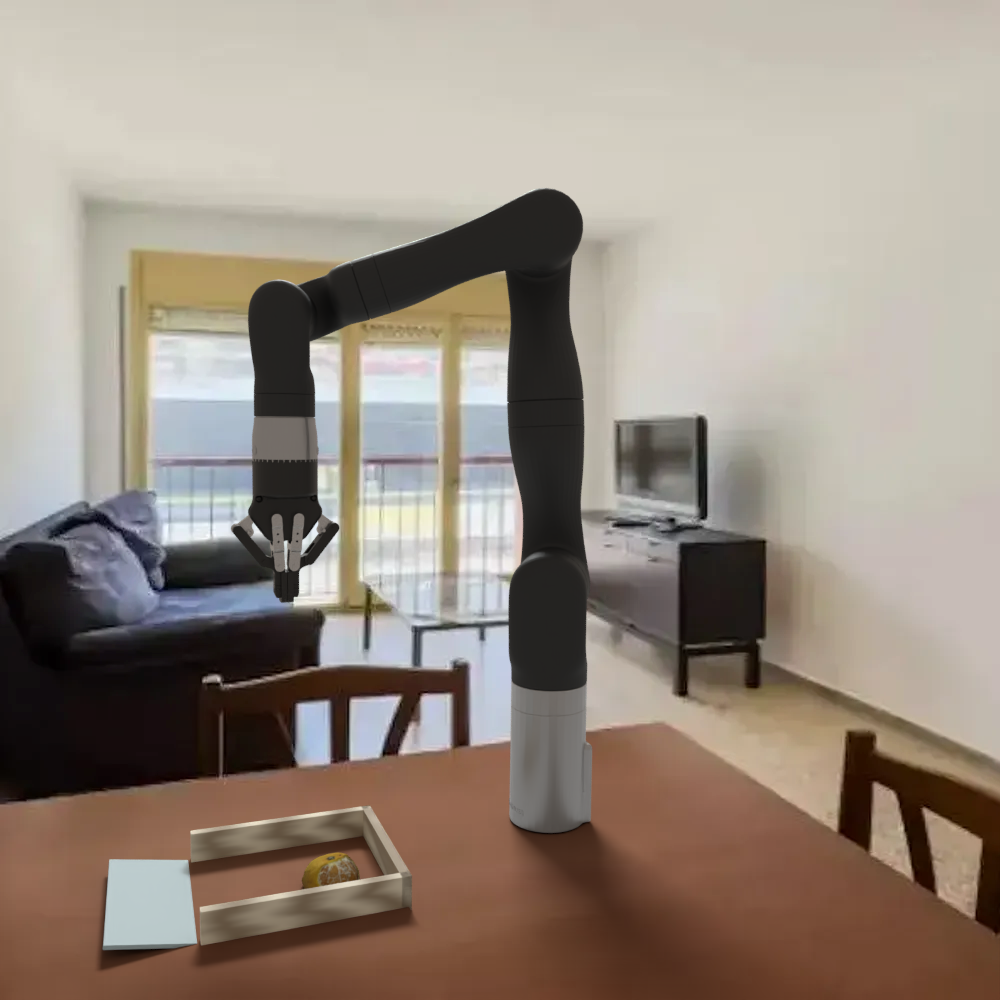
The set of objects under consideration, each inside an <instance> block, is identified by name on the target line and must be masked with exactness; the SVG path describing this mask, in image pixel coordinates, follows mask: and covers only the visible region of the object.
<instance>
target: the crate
mask: <svg viewBox="0 0 1000 1000" xmlns="http://www.w3.org/2000/svg"><path fill="white" fill-rule="evenodd" d="M359 837H363V838H364V839H365V842H366V844H367V847H369V850H370V851H371V853H372V855H373V857H374V859H375V861H376V863H377V864H378V866H379V868H380V870H381V871H382V873H383V875H379V876H374V877H367V878H360V880H355V881H349V882H343V883H337V884H332V885H326V886H320V887H314V888H308V889H304V888H302V889H298V890H292V891H286V892H285V891H284V892H280V893H274V894H268V895H263V896H262V895H261V896H257V897H251V898H246V899H240V900H234V901H228V902H222V903H216V904H210V905H204V906H199V940H200V946H206V945H210V944H215V943H222V942H226V941H232V940H233V941H234V940H237V939H242V938H243V939H244V938H248V937H253V936H254V937H255V936H258V935H259V936H260V935H265V934H270V933H275V932H280V931H286V930H293V929H297V928H301V927H308V926H314V925H319V924H325V923H329V922H334V921H340V920H346V919H350V918H351V919H352V918H355V917H360V916H361V917H362V916H368V915H372V914H373V915H374V914H377V913H382V912H388V911H393V910H394V911H395V910H399V909H404V908H409V910H410V911H412V909H413V908H412V906H413V904H412V903H413V897H412V896H413V875H412V873H411V871H410V870H409V869H408V867H407V865H406V863H405V862H404V860H403V859H402V857H401V855H400V854H399V852H398V850H397V848H396V847H395V845H394V843H393V842H392V840H391V838H390V836H389V835H388V834H387V832H386V830H385V829H384V827H383V824H382V823H381V822H380V820H379V818H378V817H377V815H376V813H375V812H374V810H373V808H372V807H371V805H370V804H369V805H362V806H361V805H360V806H355V807H354V806H353V807H347V808H339V809H334V810H327V811H320V812H319V811H318V812H314V813H312V812H311V813H306V814H298V815H291V816H285V817H283V816H282V817H279V818H271V819H263V820H258V821H257V820H256V821H250V822H242V823H237V824H236V823H235V824H230V825H227V824H226V825H221V826H215V827H208V828H198V829H194V830H190V838H189V839H190V863H195V862H196V863H197V862H204V861H209V860H210V861H211V860H217V859H221V858H222V859H223V858H229V857H236V856H242V855H248V854H255V853H256V854H257V853H261V852H268V851H274V850H282V849H289V848H292V847H293V848H294V847H301V846H307V845H314V844H320V843H326V842H327V843H328V842H333V841H340V840H345V839H352V838H353V839H354V838H359Z"/></svg>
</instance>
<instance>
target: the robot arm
mask: <svg viewBox="0 0 1000 1000" xmlns="http://www.w3.org/2000/svg"><path fill="white" fill-rule="evenodd" d="M583 233H584V220H583V215H582V212H581V211H580V207H579V206H578V205H577V203H576V202H575V201H574V200H573V199H572V198H571V197H570V196H569V195H568V194H566V193H564V192H562V191H560V190H558V189H555V188H549V187H548V188H547V187H541V188H534V189H532V190H531V189H530V190H529V191H527V192H525V193H523V194H521V195H519V196H517V197H515V198H513V199H512V200H509V201H507V202H506V203H504V204H502V205H500V206H498V207H496V208H495V209H493V210H490V211H488V212H487V213H484V214H483V215H481V216H477V217H476V218H473V219H471V220H469V221H466V222H465V223H462V224H458V225H457V226H454V227H452V228H448V229H447V230H444V231H441V232H438V233H435V234H432V235H430V236H426V237H423V238H420V239H417V240H414V241H410V242H406V243H403V244H400V245H398V246H393V247H391V248H387V249H383V250H380V251H376V252H374V253H371V254H367V255H364V256H361V257H358V258H355V259H352V260H348V261H346V262H343V263H341V264H337V265H336V266H334V267H333V268H331V269H330V270H329V271H328V273H326V274H324V275H322V276H320V277H316V278H314V279H311V280H307V281H305V282H300V283H298V284H295V283H294V282H292V281H289V280H285V279H271V280H269V281H266V282H264V283H262V284H261V285H260V286H258V287H257V288H256V289H255V291H254V293H253V294H252V296H251V298H250V301H249V305H248V309H247V324H248V325H247V329H248V338H249V347H250V354H251V360H252V366H253V372H254V373H253V375H254V378H253V379H254V381H253V382H254V383H253V416H254V417H253V426H252V434H251V457H252V459H251V461H252V462H251V468H252V469H251V470H252V471H251V473H252V479H251V480H252V486H251V487H252V488H251V489H252V490H251V491H252V499H251V503H250V506H249V507H248V509H247V514H248V515H246V516H245V517H243V519H241V520H240V521H239V522H238V523H234V524H232V525H231V527H230V530H231V532H232V533H233V534H232V535H234V536H235V538H236V539H237V540H238V541H239V543H241V544H242V546H243V547H244V548H245V549H246V551H248V553H249V554H250V555H251V557H253V559H254V560H256V562H257V563H258V564H259V566H260V567H262V568H268V569H271V570H272V573H273V575H272V576H273V577H272V579H273V580H272V581H273V583H272V584H273V586H272V588H273V590H272V591H273V595H274V596H275V598H277V599H279V602H280V603H282V604H283V603H284V604H285V603H294V602H295V598H298V597H299V594H300V571H301V569H303V568H305V567H306V566H311V565H314V564H315V563H316V562H317V559H318V558H320V557H319V556H321V554H322V553H323V552H324V551H325V549H326V548H327V546H328V545H329V544H330V543H331V541H332V540H333V539H334V537H335V536H336V535H337V533H338V532H339V531H340V525H339V523H337V522H335V521H333V520H330V519H329V518H328V517H327V516H325V515H324V514H323V508H322V506H321V504H320V502H319V495H318V494H319V490H318V489H319V486H318V484H319V481H318V478H319V474H318V473H319V471H318V470H319V468H318V466H319V464H318V461H319V460H318V459H319V457H318V456H319V451H320V450H319V446H318V445H319V444H318V443H319V442H318V431H317V430H318V429H317V423H316V385H315V378H314V374H313V371H312V370H311V361H310V360H311V342H313V341H316V340H318V339H321V338H324V337H326V336H328V335H331V334H332V333H335V332H337V331H340V330H342V329H344V328H346V327H347V326H348V327H349V326H350V325H351V326H352V325H354V324H358V323H362V322H366V321H367V322H368V321H370V320H374V319H377V318H380V317H384V316H386V315H389V314H392V313H395V312H398V311H401V310H404V309H407V308H409V307H412V306H415V305H417V304H420V303H422V302H423V301H426V300H428V299H431V298H432V297H435V296H437V295H439V294H441V293H444V292H445V291H448V290H451V289H452V288H454V287H457V286H459V285H461V284H464V283H466V282H469V281H472V280H475V279H478V278H482V277H485V276H488V275H492V274H497V273H500V272H505V278H506V287H507V296H508V303H509V315H510V316H509V318H510V327H509V328H510V329H509V342H508V344H509V345H508V354H507V356H508V358H507V376H506V378H507V379H506V380H507V381H506V382H507V383H506V385H507V388H506V389H507V391H506V409H507V412H506V413H507V427H508V428H507V429H508V430H507V431H508V443H509V450H510V454H511V455H510V457H511V459H512V464H513V465H512V466H513V469H514V476H515V478H516V479H515V480H516V483H517V487H518V490H519V495H520V500H521V501H520V502H521V508H522V543H521V557H520V564H519V565H518V567H517V568H515V571H514V572H513V575H512V576H511V579H510V583H509V587H508V588H509V589H508V605H507V606H508V613H507V614H508V620H507V622H508V658H509V662H510V669H511V670H510V672H511V673H510V674H511V675H510V678H511V679H510V681H511V682H510V684H511V685H510V747H509V749H510V751H509V752H510V753H509V755H510V756H509V799H508V801H509V803H508V805H509V815H508V816H509V819H510V821H511V822H512V823H513V824H514V825H516V826H518V827H519V828H521V829H523V830H527V831H530V832H535V833H545V834H547V833H548V834H553V833H554V834H555V833H556V834H557V833H562V832H568V831H571V830H574V829H576V828H578V827H579V826H581V825H582V824H583V823H588V822H591V820H592V783H593V782H592V780H593V779H592V777H593V775H592V774H593V747H592V745H591V744H590V743H589V742H588V741H587V740H586V739H587V734H586V733H587V730H586V729H587V698H588V697H587V694H588V693H587V692H588V690H587V689H588V687H587V686H588V685H587V684H588V683H587V682H588V660H587V610H588V608H587V607H588V599H589V597H590V591H591V577H590V571H589V566H588V565H589V564H588V560H587V559H588V558H587V553H586V546H585V540H584V539H585V537H584V529H583V521H582V489H583V477H584V461H585V402H584V396H585V395H584V387H583V379H582V371H581V366H580V362H579V356H578V352H577V347H576V345H575V344H576V343H575V339H574V335H573V330H572V324H571V316H570V315H571V314H570V313H571V312H570V301H571V300H570V299H571V298H570V297H571V296H570V294H571V292H570V291H571V277H572V276H571V274H572V262H573V257H574V255H575V253H576V252H577V251H578V249H579V246H580V244H581V241H582V238H583ZM253 524H254V525H255V526H256V527H257V529H258V531H259V532H260V533H261V535H262V536H263V537H264V538H265V539H266V540H268V541H269V548H270V554H271V556H270V555H267V554H266V553H265V552H264V551H263V550H262V549H261V548H260V547H259V545H258V544H257V543H256V542H255V540H254V539H253V538H252V537H253V536H254V534H255V533H254V532H255V531H254V529H253ZM316 525H317V526H316ZM315 526H316V532H317V535H316V536H315V537H314V539H313V540H312V541H311V543H310V544H309V545H308V547H307V548H306V549H305V550H304V552H303V553H302V549H303V540H305V539H306V538H307V537H308V535H309V534H310V533H311V531H312V530H313V528H314V527H315ZM285 542H287V543H286V549H287V552H286V557H285ZM301 553H302V554H301ZM285 558H286V559H285Z"/></svg>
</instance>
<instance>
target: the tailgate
mask: <svg viewBox="0 0 1000 1000" xmlns="http://www.w3.org/2000/svg"><path fill="white" fill-rule="evenodd" d="M108 860H109V861H108V872H107V885H106V900H105V912H104V913H105V914H104V915H105V916H104V927H103V939H102V941H103V942H102V951H114V950H151V949H152V950H155V949H156V950H157V949H176V948H181V947H182V948H183V947H186V946H187V947H188V946H192V945H193V946H194V945H197V944H198V940H197V931H196V928H197V927H196V919H195V911H194V902H193V893H192V891H193V890H192V883H191V875H190V874H191V873H190V867H189V865H190V864H189V860H188V859H121V858H120V859H117V858H116V859H110V858H109V859H108Z"/></svg>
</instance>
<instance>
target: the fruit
mask: <svg viewBox="0 0 1000 1000" xmlns="http://www.w3.org/2000/svg"><path fill="white" fill-rule="evenodd" d="M360 877H361V875H360V870H359V868H358V866H357V865H356V863H355V861H354V860H353V859H352V858H351V857H350V856H349V854H347V853H344V852H331V853H326V854H323V855H320V856H317V857H316V858H314V859H313V860H311V861H310V862H309V863H308V864H307V866H306V868H305V869H304V872H303V876H302V878H301V884H302V887H303V889H308V888H314V887H320V886H326V885H332V884H337V883H343V882H349V881H355V880H361V878H360Z"/></svg>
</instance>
